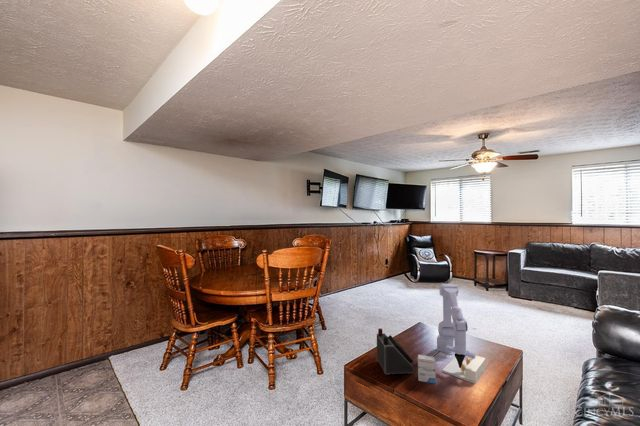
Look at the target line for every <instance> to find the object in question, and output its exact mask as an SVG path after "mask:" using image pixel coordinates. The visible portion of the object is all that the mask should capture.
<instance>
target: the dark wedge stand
mask: <svg viewBox="0 0 640 426" xmlns="http://www.w3.org/2000/svg"><path fill="white" fill-rule="evenodd" d="M377 330H378V332H377V333H376V360H377V362H378V363H379V365H380V367H381V369H382V371H383V373H384V375H386V376H390V374H392V375H394V374H408V375H411V374H413V373H415V367H414V366H413V364H412V363H413V362H414V361H413V359H412V358H411V357H410V355H409V354H408V353H407V351H406V350H405V349H404V348H403V346H401V344H399V342H398V341H396V339H395V338H394V337H393V336H392V335H391V334H389V336H388V335H387V334H386V333H383V328H378V329H377Z"/></svg>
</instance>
